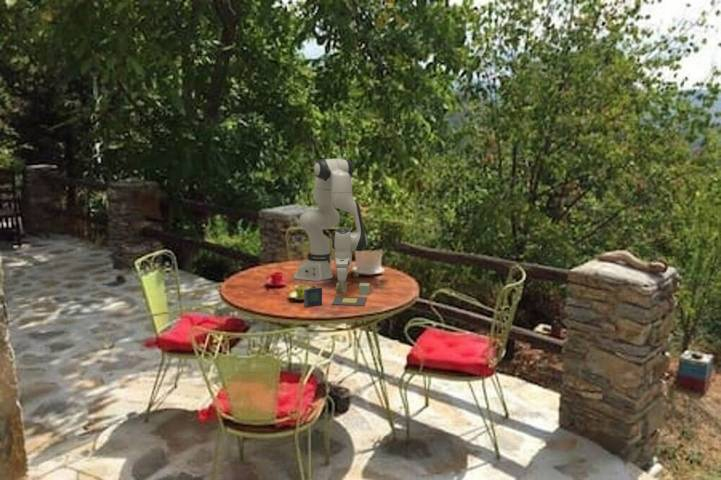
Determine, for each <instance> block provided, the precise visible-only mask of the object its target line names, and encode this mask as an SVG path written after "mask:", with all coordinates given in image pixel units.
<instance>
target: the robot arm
mask: <svg viewBox="0 0 721 480" xmlns="http://www.w3.org/2000/svg"><path fill="white" fill-rule="evenodd" d="M313 173H314V176H315V179H314V185H313V192H312V200H313V201H314V203H316V204H317V205H318V209H317V210H316V209H315V210H309V211H306V212H304V213H302V214H301V215H300V217H299V226H300V227H301V228H302V230H303V231H304V232H306V233H307V235H308V237H309V244H310V251H308V252H307V254H306V260H305V261H303V262H302V263H300V265H299V266H298V267H297V272H295V273H294V275H293V279H294V280H301V281H302V280H304V281H315V282H320V281H325V280H330V279H332V278H333V277H334V275H333V271H332V266H331V262H332V255H331V248H332V249H334V264H335V265H334V266H335V267H336V275H337V280H338V281H337V282H340V284H341V289H344V288H345V285H344V283H347V277H348V275H349V267H350V265H352V263H353V262H352V261H353V260H352V259H353V258H352V254H353V253H352V251H354V252H363V251H364V250H365V249H366V248H367V245H368V238H367V236H366V233H365V228H364V221H363V216H362V211H361V208H360V204H359V203H358V202H357V201H355V199H354V196H353V195H354V194H353V185H352V184H353V183H352V176H353V174H354V164H353V162H352V160H350V159H347V158H327V159H324V158H321V159H318V160H316V161H315V163H314V164H313ZM336 208H337V209H339V210H341V211H345V212H347V213H349V214H350V215H352V216H353V219H354V222H355V228H356V229H355V230H356V232H351V230H350V229H348V228H343V227H342V228H337V229H336V230H335V232H334V234H333V236H332V237H331V240H330V238H329V237H328V236H326V235H324V231H323V230H325V229H330V228H333V227H335V226H338V225H339V223H340V221H341V216H340V214H339V211H338V210H337V209H336ZM331 243H332V246H331Z"/></svg>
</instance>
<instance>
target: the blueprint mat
mask: <svg viewBox="0 0 721 480" xmlns="http://www.w3.org/2000/svg"><path fill="white" fill-rule="evenodd" d="M367 298H368V297H367V296H366V297H365V296H345V295H344V296H342V295H341V296H339V295H338V296H337V295H336V296H335V297H334V299H333V301H332V303H331V306H341V305H342V306H345V307H347V306H348V307H349V306H350V307H365V306H366V303H367Z"/></svg>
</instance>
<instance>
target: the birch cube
mask: <svg viewBox="0 0 721 480" xmlns="http://www.w3.org/2000/svg"><path fill="white" fill-rule="evenodd" d="M344 285H345V288H344V289H341V284H340V282H339V281H337V283H336V285H335V294H336V295H346V294H347V292H348V287H347V285H348V283H347V282H346V283H344Z"/></svg>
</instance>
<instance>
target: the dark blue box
mask: <svg viewBox="0 0 721 480" xmlns="http://www.w3.org/2000/svg"><path fill="white" fill-rule="evenodd" d="M310 285H311V286H310V287H306V288H304V289H303V301H304V302H303V304H304V305H303V306H304V308H311V307H317V306H318V307H319V306H322V305H323V287H321V286H319V285H317V286H316V285H314V283H312V284H310Z"/></svg>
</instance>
